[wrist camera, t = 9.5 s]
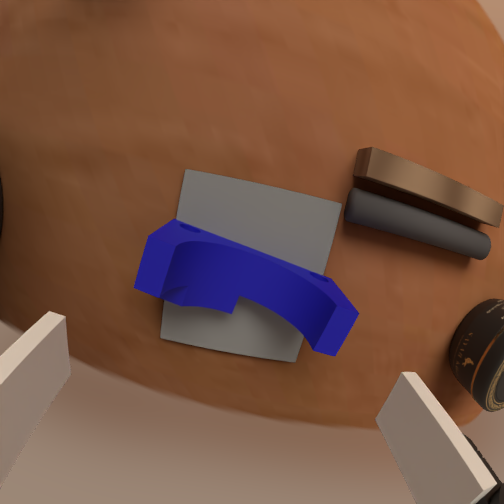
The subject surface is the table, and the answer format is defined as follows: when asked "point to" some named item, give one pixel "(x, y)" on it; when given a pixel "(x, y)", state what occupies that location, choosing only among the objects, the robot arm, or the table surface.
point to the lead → (414, 224)
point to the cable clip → (242, 282)
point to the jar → (481, 354)
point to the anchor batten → (426, 185)
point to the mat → (259, 238)
